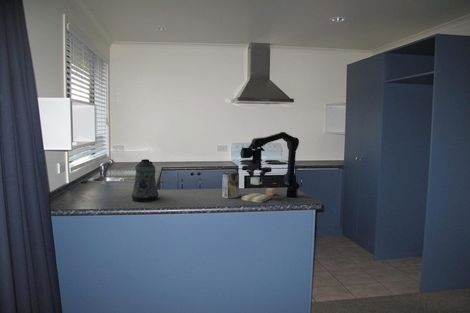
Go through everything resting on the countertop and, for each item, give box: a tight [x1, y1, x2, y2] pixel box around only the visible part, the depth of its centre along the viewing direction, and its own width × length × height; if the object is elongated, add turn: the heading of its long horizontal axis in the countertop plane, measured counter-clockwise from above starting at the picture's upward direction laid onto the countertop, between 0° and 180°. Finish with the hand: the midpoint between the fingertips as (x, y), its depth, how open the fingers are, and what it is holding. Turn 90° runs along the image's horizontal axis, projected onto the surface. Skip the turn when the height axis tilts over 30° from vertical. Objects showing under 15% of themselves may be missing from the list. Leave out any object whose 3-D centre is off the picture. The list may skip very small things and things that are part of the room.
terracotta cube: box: [265, 187, 275, 197], centre depth 231 cm, size 4×4×4 cm
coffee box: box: [221, 171, 240, 199], centre depth 222 cm, size 9×6×16 cm
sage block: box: [250, 176, 263, 186], centre depth 216 cm, size 6×6×4 cm
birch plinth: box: [240, 192, 272, 204], centre depth 217 cm, size 14×14×2 cm
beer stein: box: [131, 158, 159, 203], centre depth 214 cm, size 16×19×25 cm
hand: (256, 182), depth 217 cm, fingers closed on sage block, 5 cm apart
